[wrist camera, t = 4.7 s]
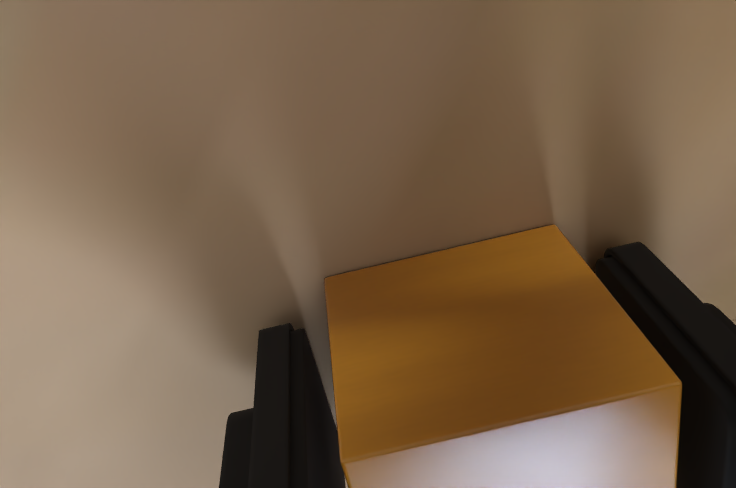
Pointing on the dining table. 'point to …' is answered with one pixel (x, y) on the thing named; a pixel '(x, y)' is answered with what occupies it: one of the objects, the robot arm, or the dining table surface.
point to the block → (497, 373)
